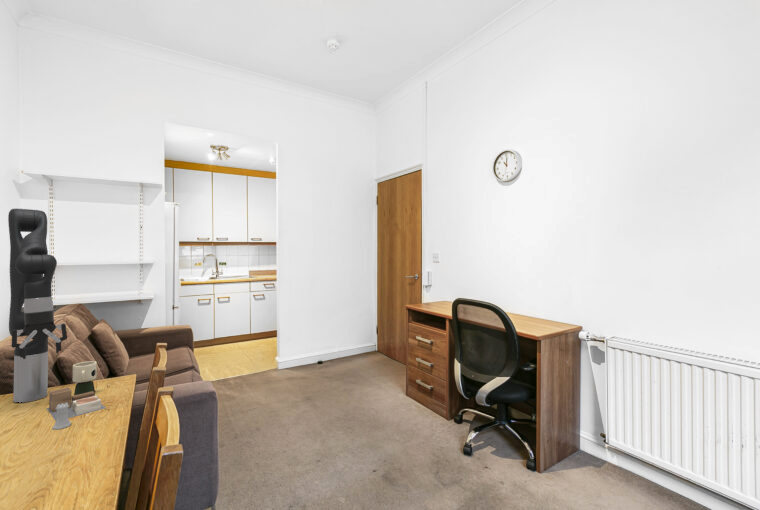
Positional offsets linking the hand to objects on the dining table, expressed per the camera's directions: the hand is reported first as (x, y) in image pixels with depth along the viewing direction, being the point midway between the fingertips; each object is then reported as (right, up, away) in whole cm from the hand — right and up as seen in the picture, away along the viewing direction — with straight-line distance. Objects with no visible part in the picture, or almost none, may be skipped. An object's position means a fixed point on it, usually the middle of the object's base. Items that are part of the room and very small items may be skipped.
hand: (41, 355), depth 125 cm
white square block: (+20, -17, -4) cm, 27 cm away
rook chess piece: (+23, -19, -17) cm, 34 cm away
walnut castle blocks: (+12, -17, 0) cm, 21 cm away
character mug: (+8, -19, +9) cm, 22 cm away
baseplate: (+15, -19, -3) cm, 24 cm away
